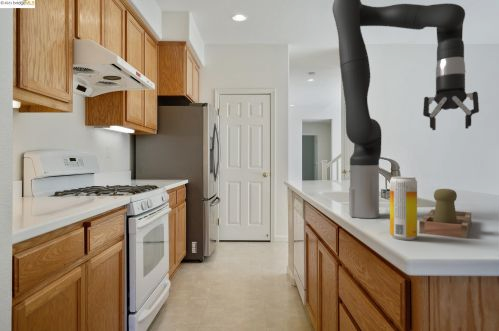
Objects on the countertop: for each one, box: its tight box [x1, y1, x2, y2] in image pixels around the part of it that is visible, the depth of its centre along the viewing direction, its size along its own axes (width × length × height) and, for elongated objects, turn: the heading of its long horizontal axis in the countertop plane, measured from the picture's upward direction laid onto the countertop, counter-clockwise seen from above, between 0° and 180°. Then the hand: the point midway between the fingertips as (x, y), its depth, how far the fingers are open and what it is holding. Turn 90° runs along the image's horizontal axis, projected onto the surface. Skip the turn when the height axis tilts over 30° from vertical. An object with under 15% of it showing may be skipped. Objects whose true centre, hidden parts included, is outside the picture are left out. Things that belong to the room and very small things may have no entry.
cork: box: [433, 188, 457, 224], centre depth 86 cm, size 6×6×11 cm
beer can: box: [389, 175, 418, 241], centre depth 80 cm, size 6×6×15 cm
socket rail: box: [418, 209, 472, 239], centre depth 91 cm, size 23×10×3 cm, turn 144°
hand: (450, 129), depth 99 cm, fingers open, 8 cm apart
